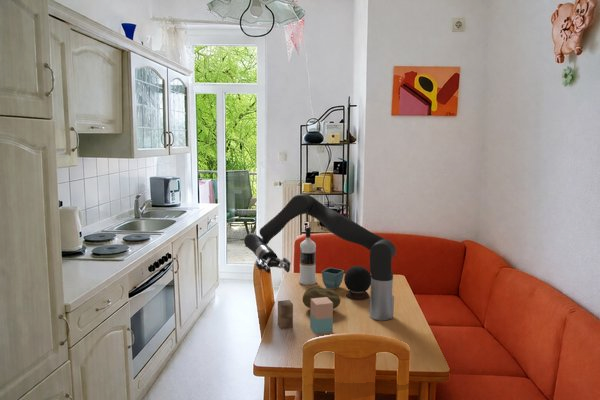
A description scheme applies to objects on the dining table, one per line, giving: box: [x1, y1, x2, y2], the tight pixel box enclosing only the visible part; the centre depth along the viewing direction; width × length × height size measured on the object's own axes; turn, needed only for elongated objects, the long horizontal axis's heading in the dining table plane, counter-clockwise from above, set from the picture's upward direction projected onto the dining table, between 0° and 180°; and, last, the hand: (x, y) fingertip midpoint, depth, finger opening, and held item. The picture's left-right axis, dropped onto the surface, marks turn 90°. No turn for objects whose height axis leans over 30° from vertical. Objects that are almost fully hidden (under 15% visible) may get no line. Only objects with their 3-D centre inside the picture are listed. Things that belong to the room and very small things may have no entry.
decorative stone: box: [302, 285, 341, 310], centre depth 198 cm, size 17×11×10 cm, turn 79°
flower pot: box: [321, 267, 345, 290], centre depth 228 cm, size 9×9×9 cm
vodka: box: [298, 226, 317, 286], centre depth 234 cm, size 9×9×30 cm
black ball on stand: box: [343, 265, 371, 301], centre depth 216 cm, size 13×13×15 cm
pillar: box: [277, 299, 294, 330], centre depth 181 cm, size 5×5×10 cm
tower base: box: [309, 313, 334, 335], centre depth 178 cm, size 7×7×6 cm
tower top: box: [309, 297, 334, 320], centre depth 177 cm, size 7×7×6 cm
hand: (279, 270), depth 185 cm, fingers open, 8 cm apart
